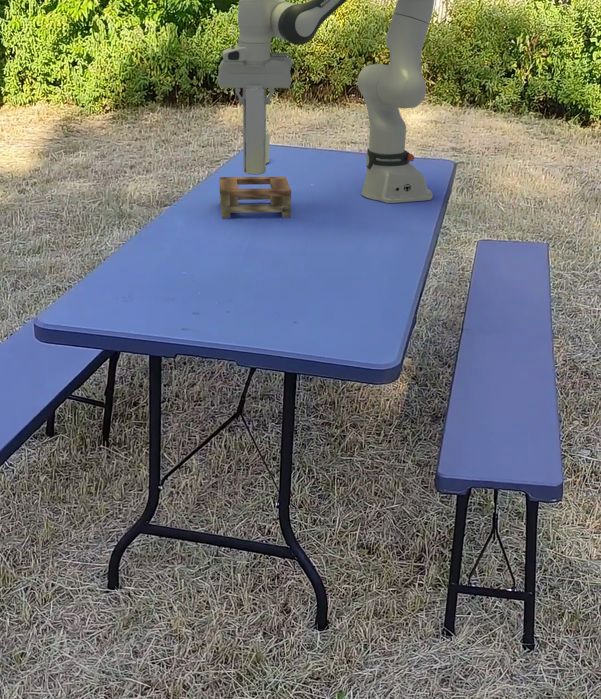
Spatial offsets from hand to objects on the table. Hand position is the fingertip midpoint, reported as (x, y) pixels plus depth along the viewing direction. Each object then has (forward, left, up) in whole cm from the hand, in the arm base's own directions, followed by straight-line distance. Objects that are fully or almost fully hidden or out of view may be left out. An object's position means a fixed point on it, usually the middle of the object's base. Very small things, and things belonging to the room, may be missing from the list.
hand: (254, 104), depth 240 cm
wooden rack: (0, 0, -31) cm, 31 cm away
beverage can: (-5, -55, -31) cm, 63 cm away
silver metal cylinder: (0, 0, -20) cm, 20 cm away
